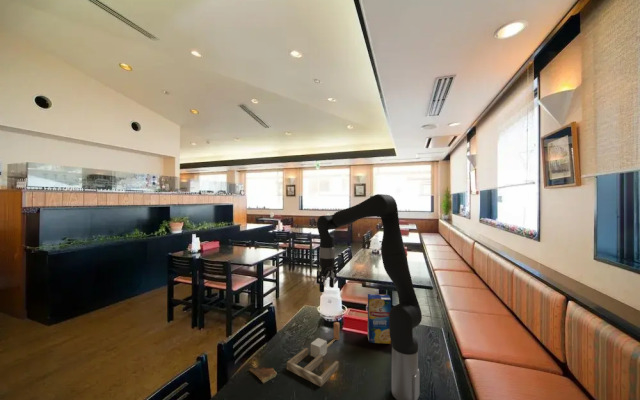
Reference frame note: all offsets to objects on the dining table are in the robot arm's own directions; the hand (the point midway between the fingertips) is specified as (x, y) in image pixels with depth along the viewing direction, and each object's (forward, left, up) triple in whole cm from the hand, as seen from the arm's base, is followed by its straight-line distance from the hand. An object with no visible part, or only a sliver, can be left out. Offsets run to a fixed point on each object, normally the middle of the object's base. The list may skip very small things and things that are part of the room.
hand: (326, 289), depth 122 cm
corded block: (0, -1, -28) cm, 28 cm away
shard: (+10, +32, -29) cm, 44 cm away
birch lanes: (-4, +17, -28) cm, 33 cm away
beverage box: (-18, -22, -28) cm, 40 cm away
